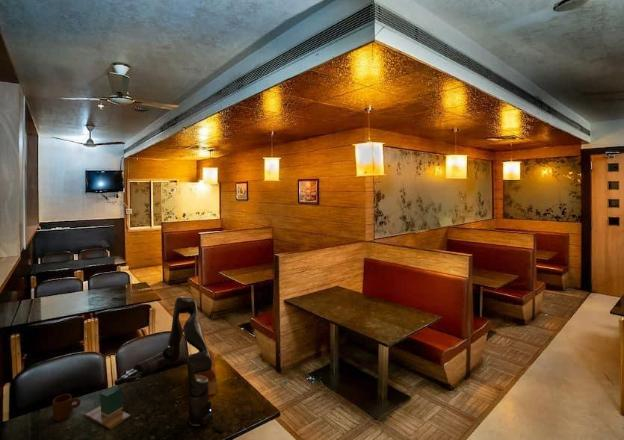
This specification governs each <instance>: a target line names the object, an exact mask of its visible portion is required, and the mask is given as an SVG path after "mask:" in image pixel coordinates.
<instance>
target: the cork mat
mask: <svg viewBox="0 0 624 440" xmlns="http://www.w3.org/2000/svg"><path fill="white" fill-rule="evenodd" d="M84 416H85V417H86V418H89V419H90V420H92V421H94V422H96V423H97V424H100V425H101V426H103V427H105V428H107V429H108V430H112V429H114V428H116V427H118V426H119V425H120V424H121V423H123V422H125V421H126V420H129V419H130V418H131V417H132V415H131V414H129V413H127V412H125V411H123V410H121V411H119V412H118V413H116V414H114V415H113V416H111V417H109V418H107V417H105V416H103V415H101V405H99V406H97V407H95V408H94V409H92V410H89V411H88V412H86V413H85V414H84Z"/></svg>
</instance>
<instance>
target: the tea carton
mask: <svg viewBox="0 0 624 440" xmlns="http://www.w3.org/2000/svg"><path fill="white" fill-rule="evenodd" d="M99 401H100V406H101V415H103V416H105V417H107V418H109V417H111V416H113V415H114V414H116V413H118V412H119V411H123V410H124V404H123V403H124V402H123V388H122V387H119V386H118V385H117V386H116V385H113V386H111V387H109V388H107V389H105V390H103V391H101V392H100V393H99Z"/></svg>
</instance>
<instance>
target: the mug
mask: <svg viewBox="0 0 624 440" xmlns="http://www.w3.org/2000/svg"><path fill="white" fill-rule="evenodd" d="M74 402H76V403H75V404H73V403H74ZM81 403H82V402H81V399H80V398H79V397H73V398H72V394H70V393H62V394H60V395H57V396H55V397H54V398H53V399H52V404H51V405H52V417H53V420H54V421H55V422H63V421H65V420H68V418H70V417H72V415H73V409H76V408H78V407H80V405H81Z"/></svg>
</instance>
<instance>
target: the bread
mask: <svg viewBox="0 0 624 440" xmlns="http://www.w3.org/2000/svg"><path fill="white" fill-rule="evenodd" d="M196 353H199V351H197V352H196ZM209 353H210V356H211V359H212V368H211V370H209V371H207V372H203V373H199V374H197V375H202V376H206V377H207V378H208V380H209V396H211V395H212V396H213V395H217V382H218V380H217V379H218V378H217V368H216V359H215V355H214V352H212V351H211V350H209Z"/></svg>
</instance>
